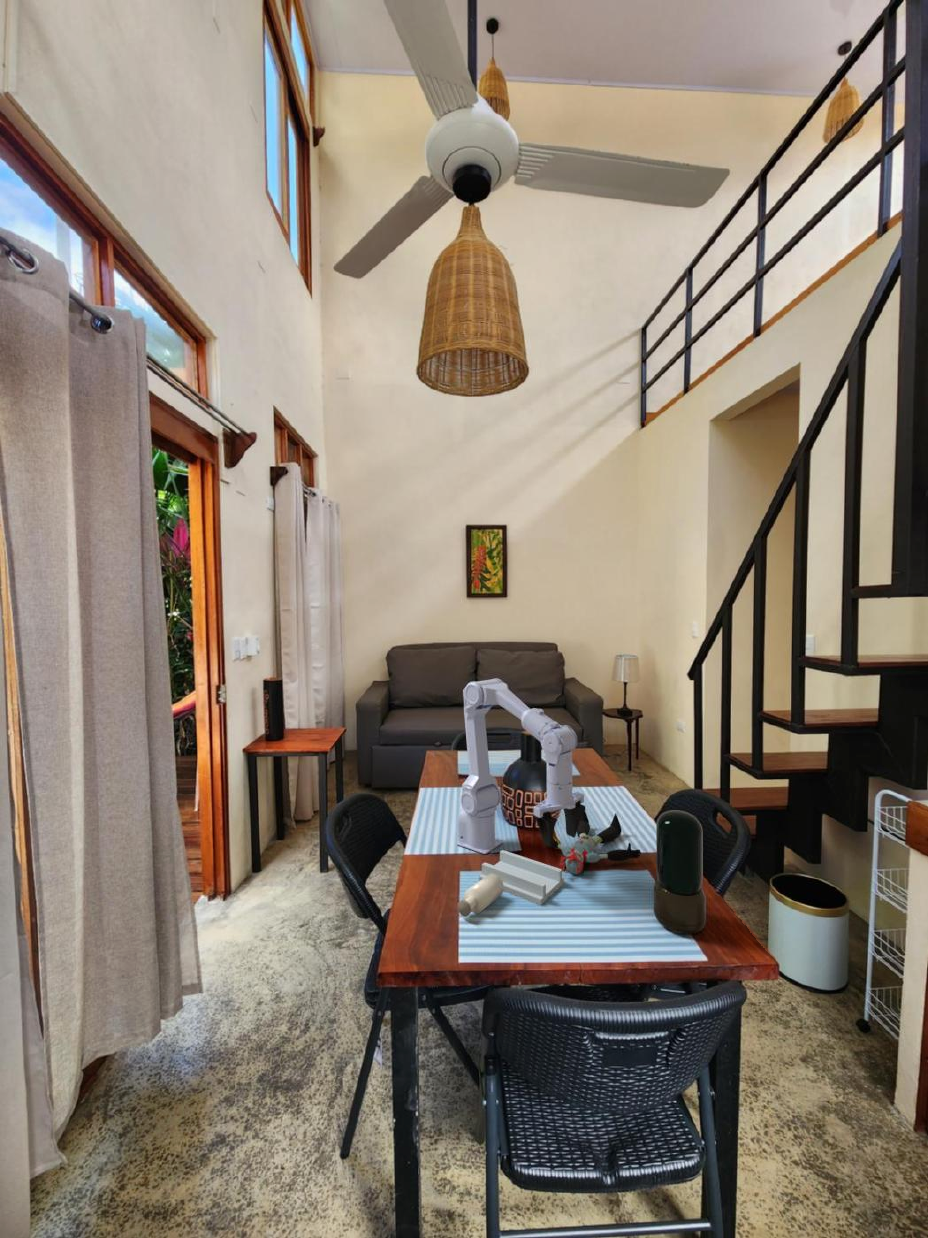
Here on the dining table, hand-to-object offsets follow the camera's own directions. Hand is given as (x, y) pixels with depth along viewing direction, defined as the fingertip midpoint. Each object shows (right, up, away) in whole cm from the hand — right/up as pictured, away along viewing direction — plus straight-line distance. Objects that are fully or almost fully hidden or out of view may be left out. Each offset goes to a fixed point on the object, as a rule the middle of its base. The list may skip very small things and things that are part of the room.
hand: (559, 840), depth 117 cm
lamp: (+21, -10, -15) cm, 28 cm away
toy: (+9, -10, +14) cm, 19 cm away
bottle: (-18, -10, -9) cm, 23 cm away
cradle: (-9, -10, +1) cm, 13 cm away
